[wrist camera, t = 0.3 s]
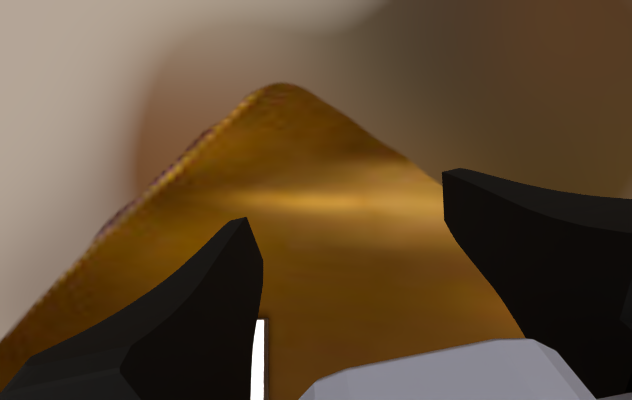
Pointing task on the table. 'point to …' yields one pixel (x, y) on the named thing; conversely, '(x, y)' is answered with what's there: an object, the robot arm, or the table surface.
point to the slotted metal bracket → (260, 361)
